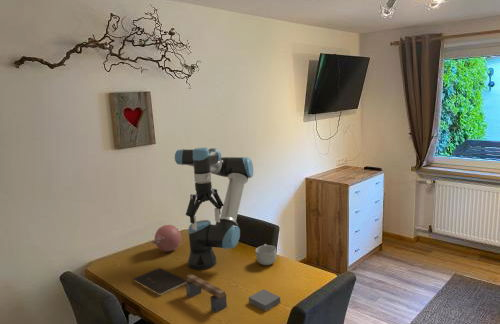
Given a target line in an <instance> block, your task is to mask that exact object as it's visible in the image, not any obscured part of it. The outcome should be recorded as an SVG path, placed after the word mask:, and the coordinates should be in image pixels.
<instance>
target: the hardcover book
mask: <svg viewBox="0 0 500 324" xmlns="http://www.w3.org/2000/svg"><path fill="white" fill-rule="evenodd" d="M133 280H135V281H137V282H139V283H141V284H142V285H144V286H146V287H147V288H149V289H150V290H152V291H153V292H155V293H157V294H158V295H157V294H156V295H157V296H159V295H162V294H164V293H166V294H167V292H168V293H170V292H172V291H174V290H177V289H178V288H180V287H182V286H185V285H186V283H188V281H187V279H185V278H183V277H180V276H178V275H176V273H175V274H174V273H173V272H171V271H169V270H166V269H164V268H162V267H157V268H156V269H153V270H151V271H148V272H146V273H142V274H140V275H139V276H136V277H134V278H133ZM135 281H134V282H135ZM150 290H149V291H150ZM171 290H172V291H171ZM152 291H151V292H152ZM169 291H170V292H169ZM153 292H152V293H153ZM155 293H154V294H155ZM164 295H165V294H164ZM162 296H163V295H162Z"/></svg>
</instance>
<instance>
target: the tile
mask: <svg viewBox="0 0 500 324" xmlns="http://www.w3.org/2000/svg"><path fill="white" fill-rule="evenodd" d="M248 303H249V304H250V305H253V306H254V307H256V308H258V309H260V310H262V311H264V312H267V311H270V310H271V309H273V308H275V306H278V305H279V304H281V296H280V295H279V296H278V295H277V294H274V293H272V292H271V291H268V290H266V289H264V288H263V289H261V290H259V291H258V292H256V293H254V294H252V295H250V296H248Z"/></svg>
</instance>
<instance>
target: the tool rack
mask: <svg viewBox="0 0 500 324" xmlns="http://www.w3.org/2000/svg"><path fill="white" fill-rule="evenodd" d="M187 282H188V281H187ZM185 290H186V296H187V297H188V298H190V299H191V298H194V297H196V296H198V295H199V294H201V293H202V289H201V288H199V287H197V286H196V285H194V284H192V283H190V282H188V283H186V284H185ZM227 302H228V301H227V294H226V293H225V297H224V298H222V299H219V298H218V297H216V296H214V295H211V296H210V309H211V311H212V312H214V313H215V314H216V313H218V312H220V311H222V310H224V309H225V308H227V307H228V304H227Z"/></svg>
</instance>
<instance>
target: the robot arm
mask: <svg viewBox="0 0 500 324" xmlns="http://www.w3.org/2000/svg"><path fill="white" fill-rule="evenodd" d="M174 162H175V163H176V164H177V165H181V166H185V165H186V166H190V167H193V176H194V182H195V183H194V187H195V191H196V192H195V194H192V193H191V194H190V197H189V199H190V200H189V203H188V205H187V209H186V213H185V216H187V217H189V222H190V225H189V226H188V239H189V248H190V249H189V250H190V252H189V256H188V260H187V264H188V268H190V269H191V270H198V271H200V270H201V271H202V270H207V269H210V268H213V267H215V266H216V264H217V257H216V254H215V251H214V250H213V248H217V249H218V248H220V249H224V250H225V249H231V250H232V249H235V247H236V246H238V243H239V240H240V237H241V229H240V227H239V224H238V222H237V219H238V218H237V217H238V213H239V211H240V210H239V209H240V206H241V205H240V204H241V201H242V196H243V191H244V187H245V184H247V183H248V182H249V179H251V178H253V176H254V164H253V161H252V160H251V158H250V157H244V156H242V157H241V156H240V157H239V156H238V157H236V156H235V157H232V156H231V157H230V156H225V157H223V156H222V153H221V151H220V150H219V149H218V148H215V147H211V148H208V147H198V148H194V149H184V148H183V149H177V150H176V151H175V154H174ZM212 174H213V175H216V176H219V177H224V178H227V179H228V186H227V190H226V193H225V198H224V201H222V199H221V197H220V195H219V193H218V189H216V188H213V186H212V185H213V184H212ZM212 195H213V196H212ZM206 202H210V203H211V204H212V205H213V207H215V208H214V220H215V224H211V221H210V220H208V219H202V220H198V221H197V216H196V214H197V211H198V209H199V208H200V206H201V205H202V203H206Z"/></svg>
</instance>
